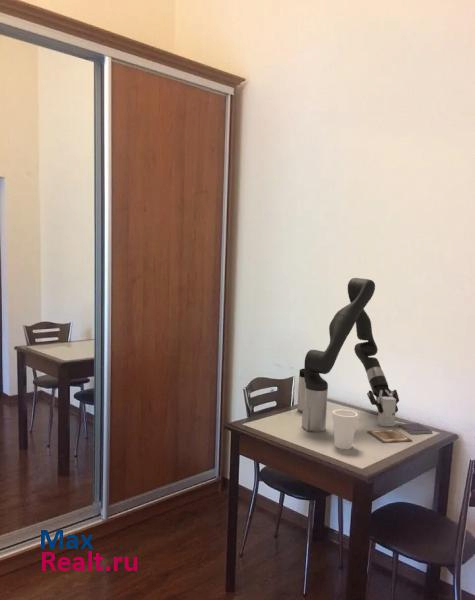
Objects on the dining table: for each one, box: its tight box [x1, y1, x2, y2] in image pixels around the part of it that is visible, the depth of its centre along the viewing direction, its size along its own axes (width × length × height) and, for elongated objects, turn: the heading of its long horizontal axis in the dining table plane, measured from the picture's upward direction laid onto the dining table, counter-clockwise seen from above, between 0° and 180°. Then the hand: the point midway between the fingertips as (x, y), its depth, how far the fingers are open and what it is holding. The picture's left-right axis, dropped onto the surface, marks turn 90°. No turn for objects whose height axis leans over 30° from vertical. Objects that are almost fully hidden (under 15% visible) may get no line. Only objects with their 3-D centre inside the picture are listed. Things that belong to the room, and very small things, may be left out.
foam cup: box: [331, 409, 359, 450], centre depth 196 cm, size 10×9×13 cm
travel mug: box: [297, 368, 306, 414], centre depth 240 cm, size 6×7×20 cm
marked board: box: [366, 429, 413, 444], centre depth 210 cm, size 13×13×1 cm
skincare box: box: [377, 397, 397, 427], centre depth 224 cm, size 6×4×12 cm
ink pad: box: [397, 422, 433, 435], centre depth 219 cm, size 10×10×1 cm
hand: (389, 412), depth 223 cm, fingers closed on skincare box, 6 cm apart
